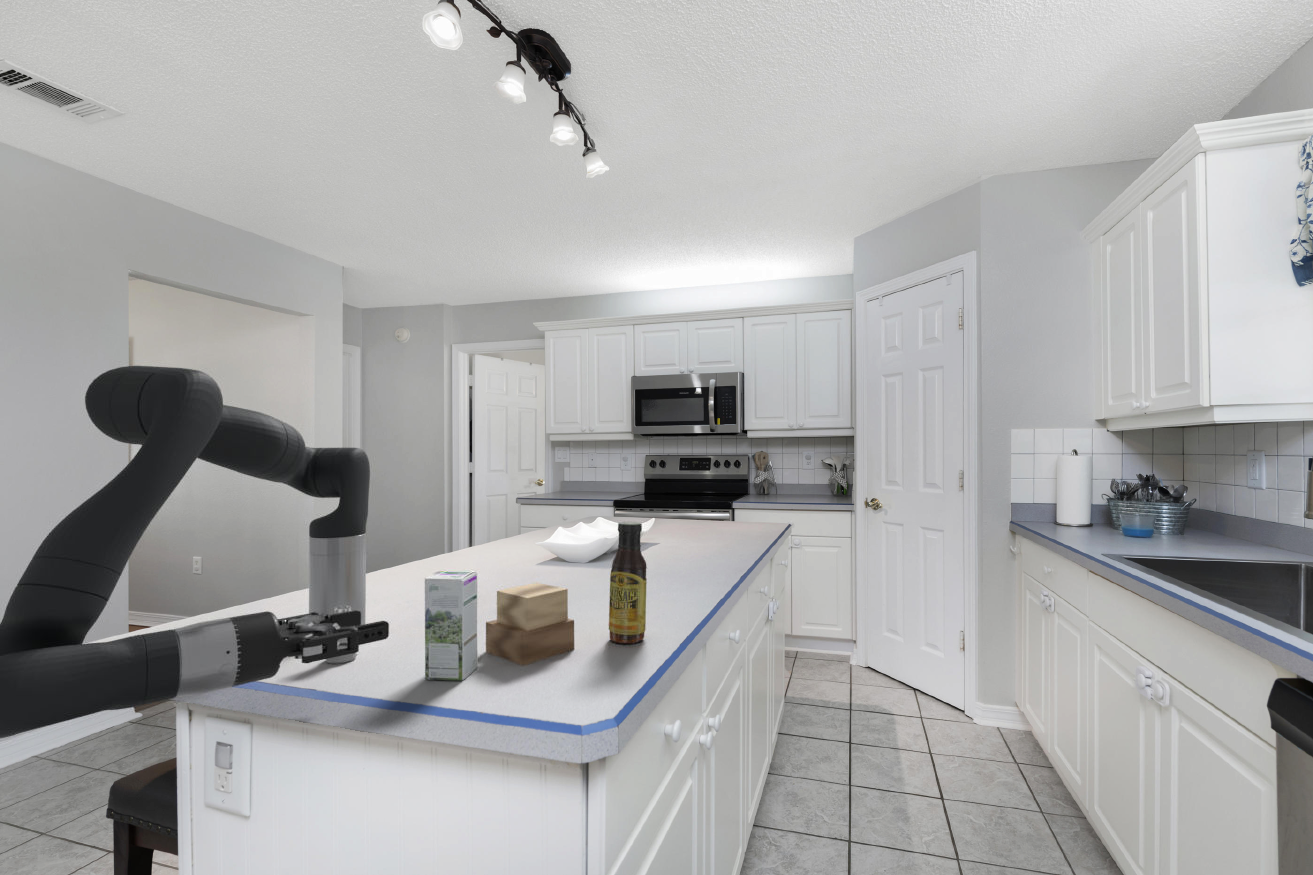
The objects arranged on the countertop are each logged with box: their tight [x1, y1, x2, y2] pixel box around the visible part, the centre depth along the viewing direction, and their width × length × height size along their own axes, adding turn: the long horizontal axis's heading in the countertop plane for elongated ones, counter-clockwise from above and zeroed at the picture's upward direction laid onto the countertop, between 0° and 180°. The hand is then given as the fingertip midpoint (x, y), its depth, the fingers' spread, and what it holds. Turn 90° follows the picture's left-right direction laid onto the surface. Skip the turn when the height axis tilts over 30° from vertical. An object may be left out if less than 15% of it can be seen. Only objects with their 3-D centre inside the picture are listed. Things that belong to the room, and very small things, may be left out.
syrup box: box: [424, 570, 479, 681], centre depth 88 cm, size 6×6×14 cm
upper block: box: [496, 582, 569, 631], centre depth 98 cm, size 8×8×5 cm
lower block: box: [485, 618, 575, 666], centre depth 98 cm, size 10×10×5 cm
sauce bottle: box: [608, 521, 648, 645], centre depth 104 cm, size 7×6×20 cm
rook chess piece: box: [325, 606, 358, 665], centre depth 95 cm, size 4×4×8 cm
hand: (373, 623), depth 80 cm, fingers open, 8 cm apart
